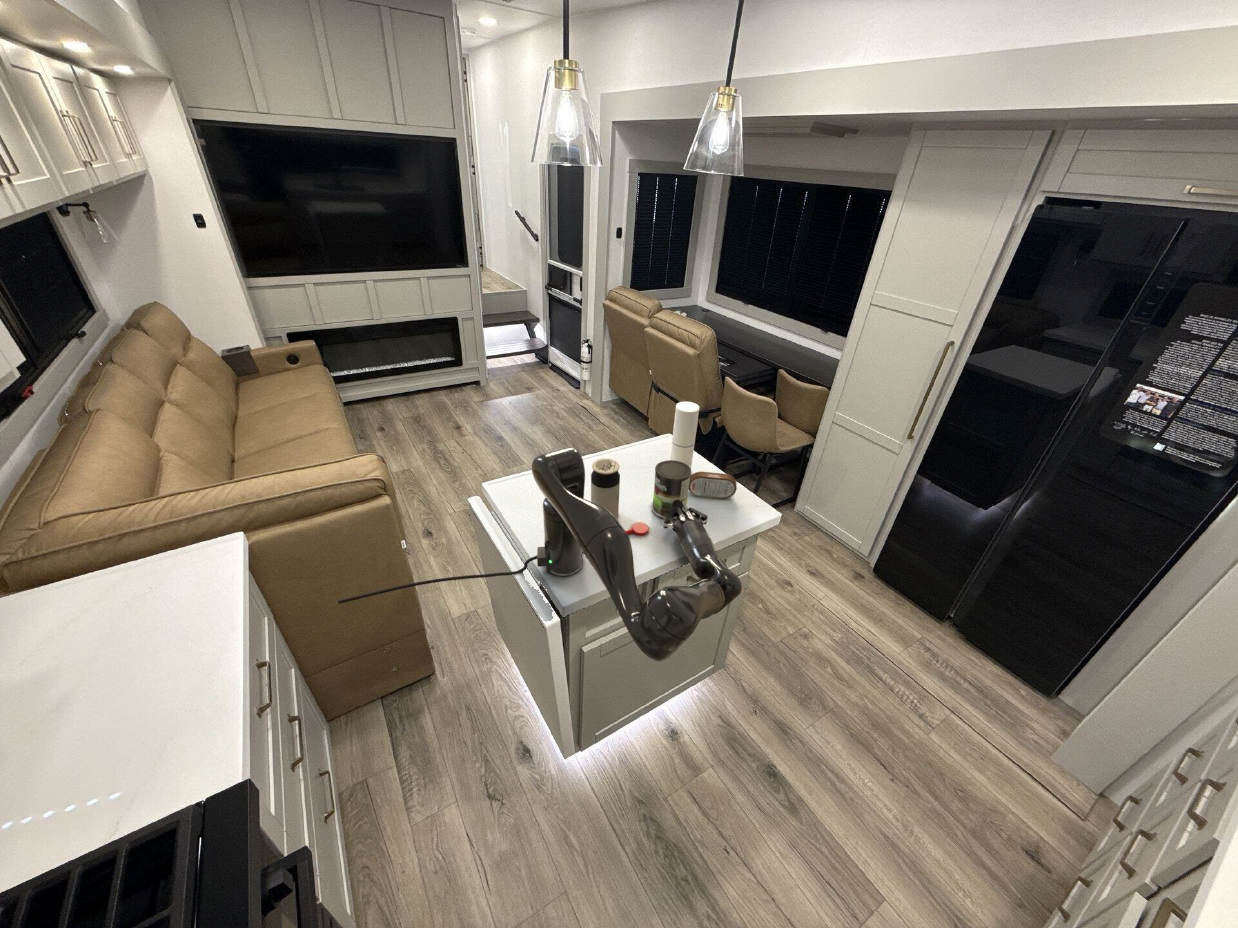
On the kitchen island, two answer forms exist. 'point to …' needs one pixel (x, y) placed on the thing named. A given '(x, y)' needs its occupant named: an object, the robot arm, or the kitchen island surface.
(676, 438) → the cylindrical container
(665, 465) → the coffee can
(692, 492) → the tin
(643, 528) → the red spoon
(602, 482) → the travel mug
